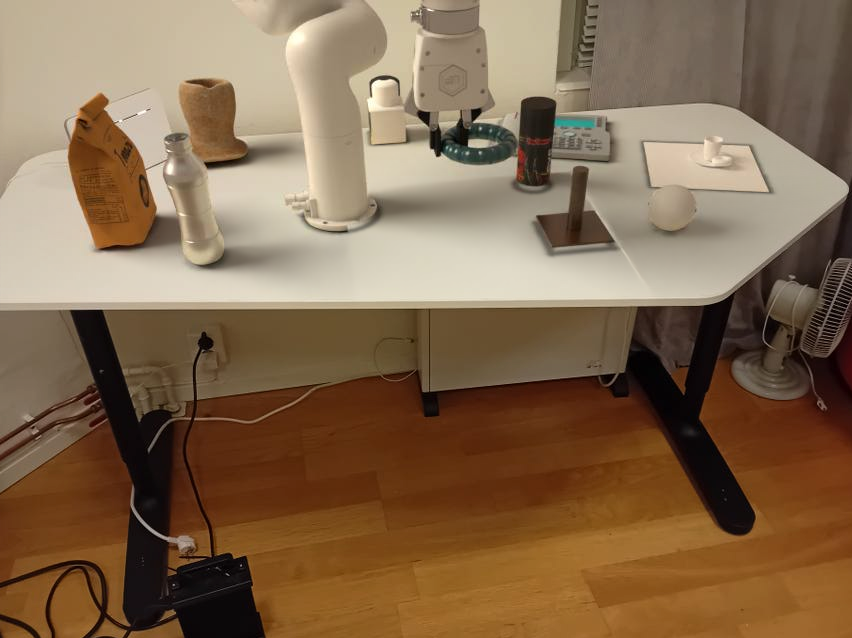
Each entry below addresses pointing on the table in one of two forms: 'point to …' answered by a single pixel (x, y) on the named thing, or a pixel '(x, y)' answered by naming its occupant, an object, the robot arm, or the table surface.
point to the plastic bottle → (192, 200)
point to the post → (575, 218)
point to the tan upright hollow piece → (211, 118)
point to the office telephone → (571, 135)
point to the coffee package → (109, 178)
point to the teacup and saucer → (704, 166)
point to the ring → (480, 155)
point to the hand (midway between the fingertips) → (448, 151)
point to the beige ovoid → (672, 207)
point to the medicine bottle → (386, 111)
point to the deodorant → (535, 140)
